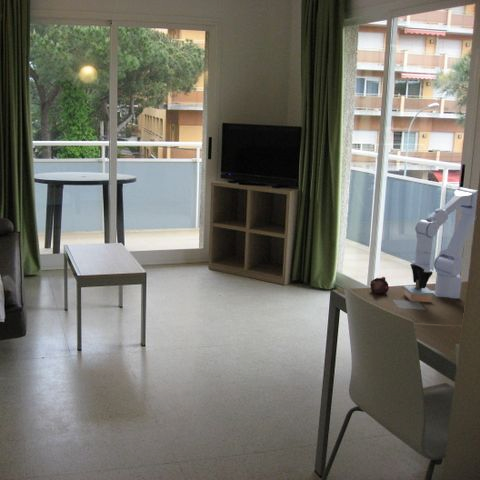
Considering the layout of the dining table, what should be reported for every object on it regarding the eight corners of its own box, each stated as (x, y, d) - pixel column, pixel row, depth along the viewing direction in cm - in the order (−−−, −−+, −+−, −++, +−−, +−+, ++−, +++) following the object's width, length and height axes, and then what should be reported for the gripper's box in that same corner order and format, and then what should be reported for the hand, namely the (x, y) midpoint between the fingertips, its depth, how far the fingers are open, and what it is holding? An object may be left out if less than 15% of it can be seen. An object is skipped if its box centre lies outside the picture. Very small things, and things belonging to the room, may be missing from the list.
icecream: (389, 285, 262) (394, 279, 276) (371, 277, 264) (376, 271, 278) (382, 301, 264) (387, 294, 278) (364, 293, 266) (370, 287, 280)
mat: (417, 302, 263) (417, 301, 263) (425, 311, 254) (425, 309, 254) (392, 301, 263) (392, 299, 263) (398, 309, 253) (398, 308, 253)
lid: (424, 288, 272) (425, 277, 271) (433, 294, 263) (435, 284, 262) (402, 287, 270) (404, 277, 269) (411, 294, 262) (412, 283, 261)
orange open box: (424, 297, 271) (425, 288, 271) (430, 303, 264) (431, 294, 263) (404, 296, 271) (405, 287, 270) (410, 302, 263) (411, 293, 263)
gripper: (408, 246, 270) (404, 279, 273) (418, 255, 256) (414, 290, 259) (425, 247, 270) (421, 280, 273) (437, 256, 256) (432, 291, 259)
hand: (419, 285), depth 266 cm, fingers open, 7 cm apart
